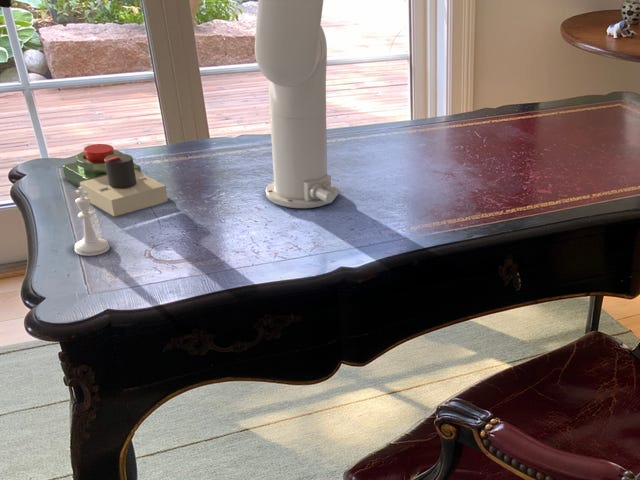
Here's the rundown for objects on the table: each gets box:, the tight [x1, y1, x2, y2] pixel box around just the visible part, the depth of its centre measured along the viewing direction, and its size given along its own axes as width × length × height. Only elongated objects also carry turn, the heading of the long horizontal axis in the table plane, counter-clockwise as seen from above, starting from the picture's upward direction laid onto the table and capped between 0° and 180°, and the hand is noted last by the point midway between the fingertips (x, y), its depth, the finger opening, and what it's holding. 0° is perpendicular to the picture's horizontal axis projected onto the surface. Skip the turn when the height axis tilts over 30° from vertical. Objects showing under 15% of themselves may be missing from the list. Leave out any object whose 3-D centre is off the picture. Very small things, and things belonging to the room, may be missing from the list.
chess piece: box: [74, 187, 111, 257], centre depth 123 cm, size 5×5×10 cm
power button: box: [83, 143, 115, 162], centre depth 145 cm, size 5×5×2 cm
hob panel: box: [80, 170, 169, 217], centre depth 141 cm, size 10×10×3 cm
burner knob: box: [104, 153, 136, 188], centre depth 138 cm, size 4×4×5 cm
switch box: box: [62, 149, 142, 188], centre depth 147 cm, size 10×8×4 cm
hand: (15, 0), depth 130 cm, fingers open, 9 cm apart
